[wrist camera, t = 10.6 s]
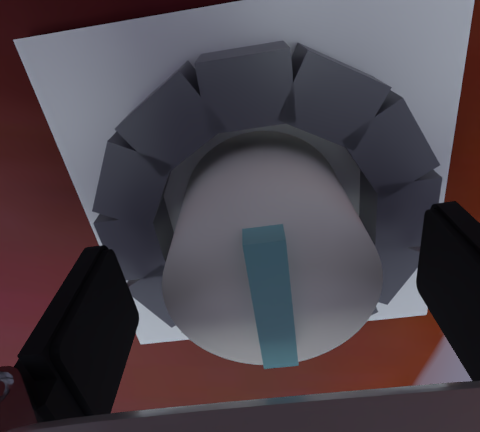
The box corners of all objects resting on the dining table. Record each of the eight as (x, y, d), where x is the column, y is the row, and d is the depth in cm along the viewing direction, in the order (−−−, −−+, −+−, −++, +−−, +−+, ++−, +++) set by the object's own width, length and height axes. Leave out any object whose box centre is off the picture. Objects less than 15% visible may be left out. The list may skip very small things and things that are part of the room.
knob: (169, 143, 13) (126, 229, 8) (338, 118, 13) (401, 194, 8) (202, 273, 16) (185, 393, 11) (340, 257, 16) (385, 375, 11)
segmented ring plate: (28, 37, 12) (-28, 47, 10) (462, -38, 11) (529, -49, 9) (145, 328, 19) (130, 379, 17) (417, 299, 18) (447, 349, 16)
